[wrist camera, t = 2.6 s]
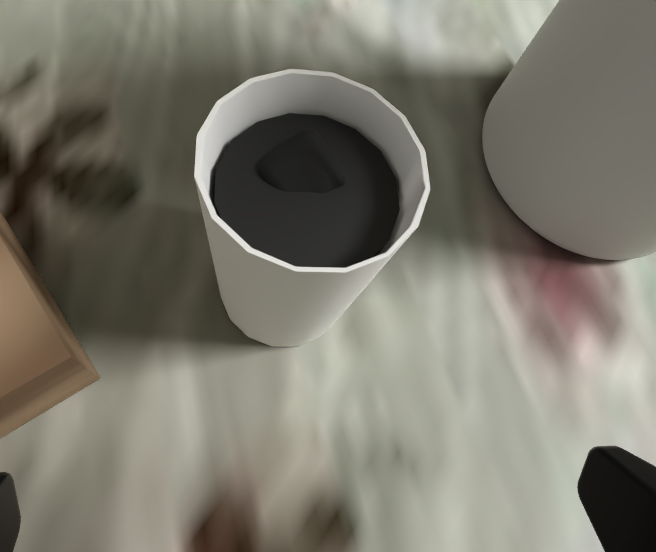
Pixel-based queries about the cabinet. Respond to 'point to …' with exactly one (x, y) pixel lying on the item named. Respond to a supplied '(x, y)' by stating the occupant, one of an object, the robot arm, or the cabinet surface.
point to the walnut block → (33, 342)
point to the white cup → (304, 198)
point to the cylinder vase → (582, 130)
